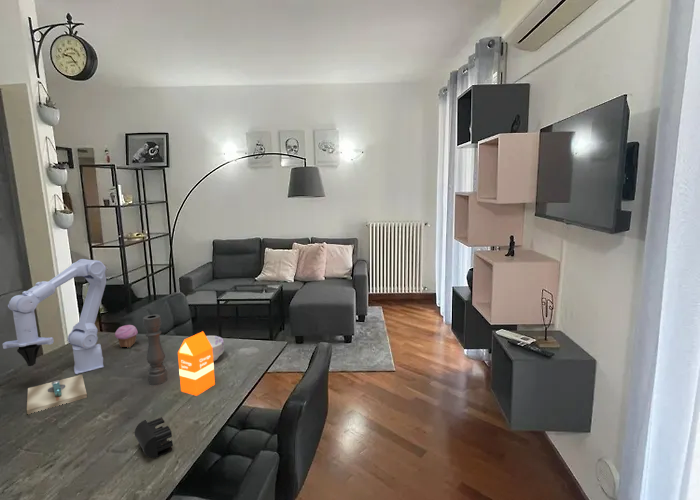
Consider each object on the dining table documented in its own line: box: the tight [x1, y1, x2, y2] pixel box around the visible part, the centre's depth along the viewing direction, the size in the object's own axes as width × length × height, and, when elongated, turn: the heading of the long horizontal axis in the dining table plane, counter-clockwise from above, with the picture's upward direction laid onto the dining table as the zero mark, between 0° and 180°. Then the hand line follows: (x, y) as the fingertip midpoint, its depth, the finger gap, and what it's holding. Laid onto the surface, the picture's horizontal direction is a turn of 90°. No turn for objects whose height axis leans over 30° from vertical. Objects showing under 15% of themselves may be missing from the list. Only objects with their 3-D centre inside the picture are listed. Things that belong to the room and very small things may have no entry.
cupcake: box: [114, 324, 138, 349], centre depth 176 cm, size 9×9×10 cm
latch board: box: [26, 374, 88, 415], centre depth 136 cm, size 16×18×2 cm
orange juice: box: [177, 330, 216, 397], centre depth 138 cm, size 8×9×20 cm
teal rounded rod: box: [51, 379, 62, 396], centre depth 135 cm, size 9×2×2 cm, turn 41°
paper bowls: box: [206, 335, 225, 362], centre depth 162 cm, size 15×15×8 cm
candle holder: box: [142, 313, 168, 386], centre depth 143 cm, size 6×6×25 cm
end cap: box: [134, 416, 174, 459], centre depth 107 cm, size 10×7×7 cm
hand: (31, 364), depth 138 cm, fingers closed
